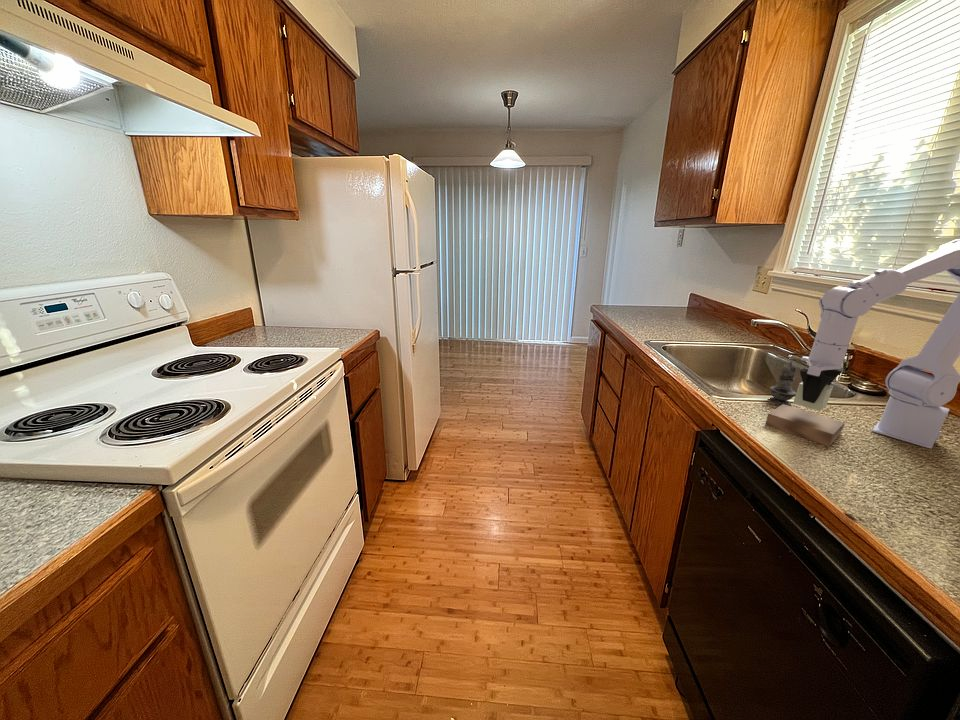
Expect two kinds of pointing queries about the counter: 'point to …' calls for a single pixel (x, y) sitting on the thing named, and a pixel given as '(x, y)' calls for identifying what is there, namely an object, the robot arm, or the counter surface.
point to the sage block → (819, 403)
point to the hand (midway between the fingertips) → (812, 398)
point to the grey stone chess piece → (784, 386)
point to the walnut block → (805, 424)
